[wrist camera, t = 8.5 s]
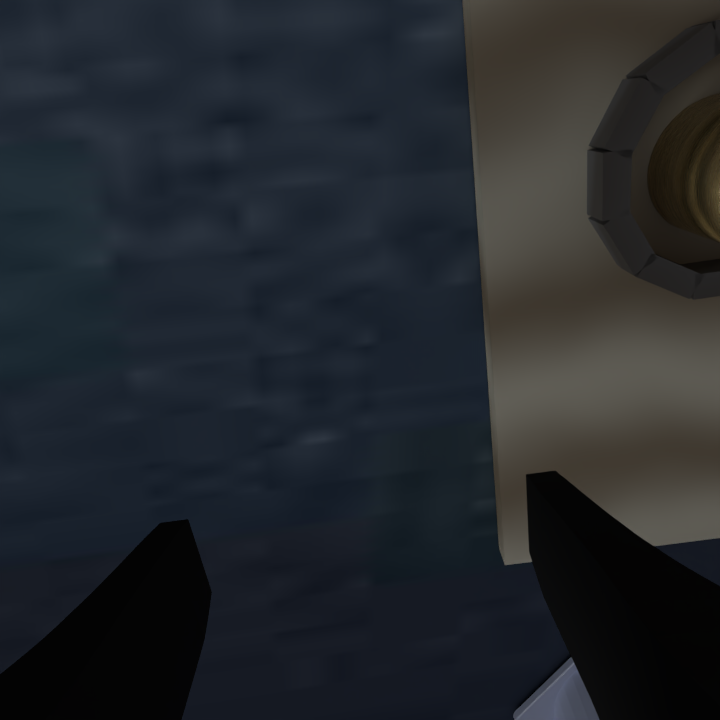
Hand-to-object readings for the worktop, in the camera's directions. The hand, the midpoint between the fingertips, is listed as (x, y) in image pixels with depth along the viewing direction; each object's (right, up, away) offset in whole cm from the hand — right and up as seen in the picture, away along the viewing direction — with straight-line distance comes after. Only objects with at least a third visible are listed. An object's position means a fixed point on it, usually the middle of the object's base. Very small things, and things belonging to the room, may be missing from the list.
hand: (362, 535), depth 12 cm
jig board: (+11, +6, +8) cm, 15 cm away
